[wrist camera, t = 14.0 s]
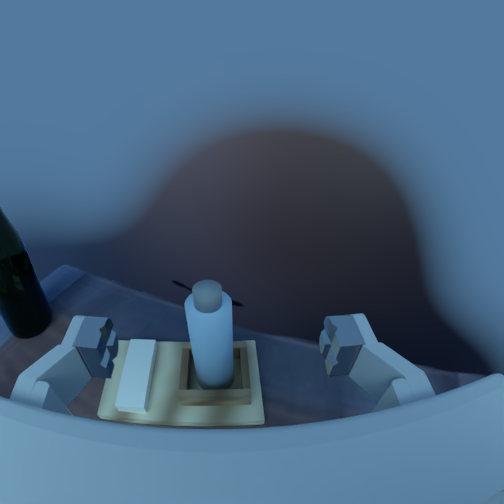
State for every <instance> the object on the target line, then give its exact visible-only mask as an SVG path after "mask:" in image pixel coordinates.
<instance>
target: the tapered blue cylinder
mask: <svg viewBox="0 0 504 504" xmlns="http://www.w3.org/2000/svg"><path fill="white" fill-rule="evenodd" d="M185 312H186V318H187V324H188V331H189V337H190V342H191V348H192V354H193V359H194V364H195V370H196V375H197V380H198V384H199V385H200V387H201V388H202V389H204V390H222V389H229V388H230V387H231V385H232V384H233V381H234V368H233V331H232V301H231V298H230V297H229V296H228V295H227V294H226V293H225V292H223V291H222V287H221V285H220V284H219V283H218V282H216V281H213V280H202V281H199V282H198V283H196V284H195V285H194V286H193V288H192V294H191V295H189V296H188V297H187V299H186V301H185Z"/></svg>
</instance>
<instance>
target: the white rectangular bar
mask: <svg viewBox="0 0 504 504" xmlns="http://www.w3.org/2000/svg"><path fill="white" fill-rule="evenodd" d="M156 351H157V343H156V340H144V339H131V340H130V343H129V347H128V351H127V355H126V359H125V363H124V367H123V371H122V376H121V380H120V384H119V389H118V393H117V398H116V403H115V406H116V408H117V409H118V411H125V412H135V413H147V408H148V401H149V394H150V388H151V381H152V375H153V369H154V363H155V357H156Z"/></svg>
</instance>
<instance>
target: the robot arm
mask: <svg viewBox="0 0 504 504" xmlns="http://www.w3.org/2000/svg"><path fill="white" fill-rule="evenodd" d="M324 327H325V329H324V330H323V331H322V332H321V335H320V350H321V354H322V355H323V356H324V357H325V358H326V361H325V367H326V370H327V373H328V376H329V377H332V376H342V375H349V377H350V378H351V379H352V380H353V381H355V382H356V383H357V384H358V385H359V386H360V387H361V388H362V389H363V390H364V391H365V392H366V393H367V394H368V395H369V396H370V397H371V398H372V399H373V400H374V401H375V402H376V403H377V405H376V406H375V408H374V409H373V411H372V412H371V413H367V414H362V415H357V416H352V417H346V418H341V419H335V420H328V421H321V422H314V423H307V424H298V425H289V426H278V427H265V428H247V429H179V428H161V427H149V426H138V425H129V424H121V423H113V422H106V421H100V420H94V419H88V418H83V417H77V416H73V415H72V414H71V412H70V411H69V410H68V409H67V408H66V406H67V405H68V404H69V403H70V402H71V401H72V400H73V399H74V397H75V396H76V395H77V394H78V393H79V392H80V391H81V390H82V389H83V387H84V386H85V385H86V384H87V383H88V382H89V381H90V380H91V379H92V377H98V378H109V379H111V377H112V373H113V369H114V363H113V359H114V358H115V357H117V354H118V347H119V342H118V337H117V334H116V333H115V332H114V331H113V330H112V328H113V323H112V320H111V319H110V318H103V317H92V316H79V315H76V316H74V317H73V319H72V321H71V323H70V326H69V328H68V330H67V332H66V334H65V337H64V339H63V341H62V344H61V345H57V346H56V347H54V348H53V349H52V350H50V351H49V352H48V353H47V354H45V355H44V356H43V357H41V358H40V359H39V360H38V361H36V362H35V363H34V364H32V365H31V366H30V367H29V368H27V369H26V370H25V371H24V372H22V373H21V374H20V375H19V377H18V379H17V381H16V384H15V386H14V389H13V391H12V394H11V396H10V399H7V398H4V397H1V396H0V504H504V375H502V374H499V373H497V374H493V375H490V376H488V377H485V378H483V379H480V380H478V381H475V382H473V383H470V384H467V385H465V386H462V387H459V388H456V389H454V390H451V391H448V392H445V393H442V394H439V395H435V393H434V391H433V389H432V386H431V384H430V382H429V380H428V378H427V376H426V374H425V372H423V371H422V370H421V369H419V368H418V367H416V366H415V365H413V364H412V363H410V362H409V361H408V360H406V359H404V358H403V357H402V356H400V355H399V354H397V353H396V352H394V351H393V350H392V349H390V348H389V347H387V346H386V345H384V344H383V343H378V341H377V339H376V337H375V335H374V333H373V331H372V329H371V327H370V325H369V323H368V321H367V319H366V317H365V315H364V314H351V315H340V316H328V317H326V318H325V321H324Z"/></svg>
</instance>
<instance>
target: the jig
mask: <svg viewBox="0 0 504 504" xmlns="http://www.w3.org/2000/svg"><path fill="white" fill-rule="evenodd" d="M118 342H119V347H118V354H117V357H115V358H114V359H113V363H114V369H113V373H112V377H111V379H109V378H106V381H105V385H104V388H103V392H102V396H101V400H100V405H99V409H98V413H97V415H98V416H99V417H100V419H107V420H115V421H123V422H133V423H144V424H157V425H175V426H238V425H257V424H264V422H265V418H264V410H263V402H262V394H261V386H260V378H259V369H258V361H257V353H256V345H255V340H247V341H233V368H234V381H233V384H232V385H231V387H230V388H229V389H222V390H204V389H202V388H201V387H200V385H199V384H198V380H197V375H196V370H195V364H194V359H193V354H192V348H191V342H157V341H156V343H157V351H156V357H155V363H154V369H153V375H152V381H151V388H150V394H149V401H148V408H147V413H135V412H125V411H118V409H117V408H116V406H115V403H116V398H117V393H118V389H119V384H120V380H121V376H122V371H123V367H124V363H125V359H126V355H127V351H128V347H129V343H130V341H126V340H118Z"/></svg>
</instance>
